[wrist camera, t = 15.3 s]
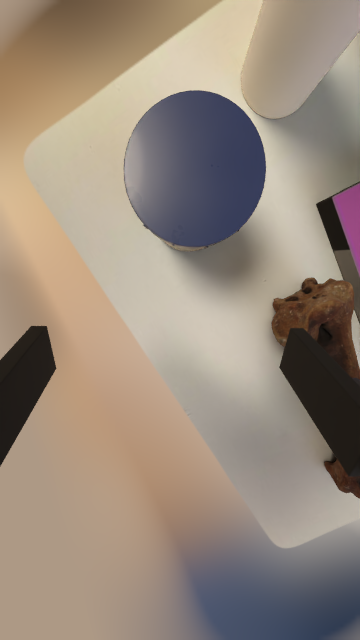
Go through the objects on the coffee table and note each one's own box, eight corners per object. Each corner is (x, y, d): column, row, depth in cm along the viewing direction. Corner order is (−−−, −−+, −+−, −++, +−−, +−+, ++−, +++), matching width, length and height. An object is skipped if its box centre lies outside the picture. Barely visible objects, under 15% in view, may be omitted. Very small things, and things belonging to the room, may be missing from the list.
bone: (376, 549, 29) (280, 320, 22) (326, 486, 37) (244, 304, 30) (447, 512, 29) (375, 270, 22) (382, 457, 37) (313, 267, 30)
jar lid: (130, 245, 18) (123, 243, 16) (131, 109, 17) (123, 85, 14) (247, 251, 19) (257, 250, 16) (262, 116, 17) (275, 94, 14)
